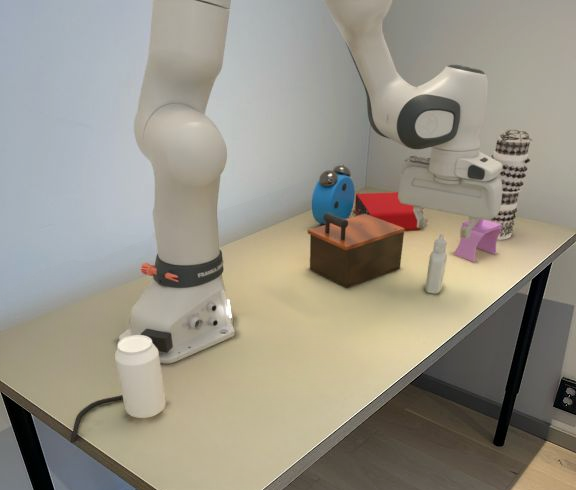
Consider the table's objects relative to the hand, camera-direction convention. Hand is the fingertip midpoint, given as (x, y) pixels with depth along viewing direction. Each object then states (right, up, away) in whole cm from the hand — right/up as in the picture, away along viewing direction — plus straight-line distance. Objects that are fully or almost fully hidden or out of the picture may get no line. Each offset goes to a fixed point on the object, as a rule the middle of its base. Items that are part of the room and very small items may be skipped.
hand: (442, 232), depth 119 cm
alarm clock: (-19, +12, +40) cm, 46 cm away
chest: (-16, -4, +16) cm, 23 cm away
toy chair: (+14, +1, +23) cm, 27 cm away
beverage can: (-54, -35, -28) cm, 70 cm away
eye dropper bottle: (0, -11, +7) cm, 13 cm away
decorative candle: (+22, +8, +34) cm, 42 cm away
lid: (-16, +3, +10) cm, 20 cm away
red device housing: (-4, +14, +43) cm, 46 cm away
